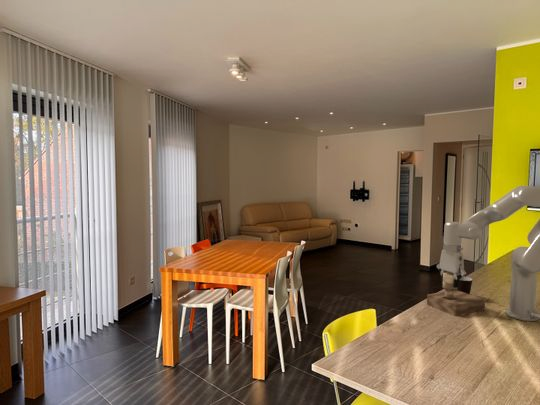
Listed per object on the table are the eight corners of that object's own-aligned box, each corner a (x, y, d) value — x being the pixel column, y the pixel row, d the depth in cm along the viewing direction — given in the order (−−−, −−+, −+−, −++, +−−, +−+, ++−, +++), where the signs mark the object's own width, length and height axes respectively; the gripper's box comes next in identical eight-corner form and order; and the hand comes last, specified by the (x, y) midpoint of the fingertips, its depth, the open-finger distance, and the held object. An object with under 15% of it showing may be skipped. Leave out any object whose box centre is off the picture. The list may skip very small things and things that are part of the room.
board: (484, 309, 174) (485, 299, 174) (454, 315, 166) (455, 305, 165) (455, 299, 188) (455, 289, 188) (426, 304, 180) (427, 294, 180)
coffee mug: (470, 301, 186) (471, 281, 186) (451, 297, 192) (452, 278, 191) (473, 295, 196) (474, 276, 195) (456, 292, 201) (456, 274, 200)
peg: (459, 298, 174) (461, 275, 173) (450, 300, 171) (451, 276, 170) (448, 294, 179) (449, 271, 179) (438, 296, 177) (440, 273, 176)
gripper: (474, 251, 167) (471, 289, 168) (442, 244, 183) (440, 279, 184) (462, 252, 164) (460, 291, 165) (431, 245, 180) (429, 281, 181)
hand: (449, 284), depth 175 cm, fingers closed on peg, 6 cm apart
